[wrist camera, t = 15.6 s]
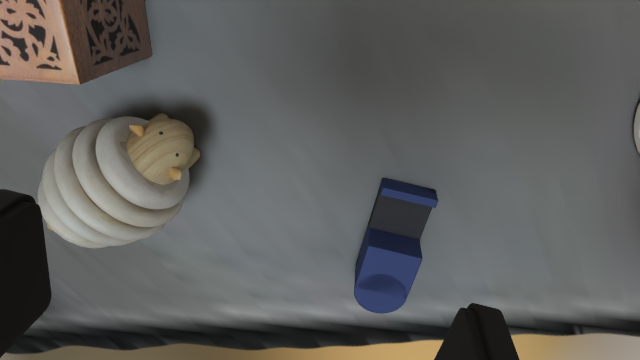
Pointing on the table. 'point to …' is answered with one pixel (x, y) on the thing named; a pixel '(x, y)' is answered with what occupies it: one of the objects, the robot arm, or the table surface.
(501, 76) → the table surface
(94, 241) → the toy sheep
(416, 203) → the navy rounded-end tab
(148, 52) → the tissue box cover
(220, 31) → the table surface
